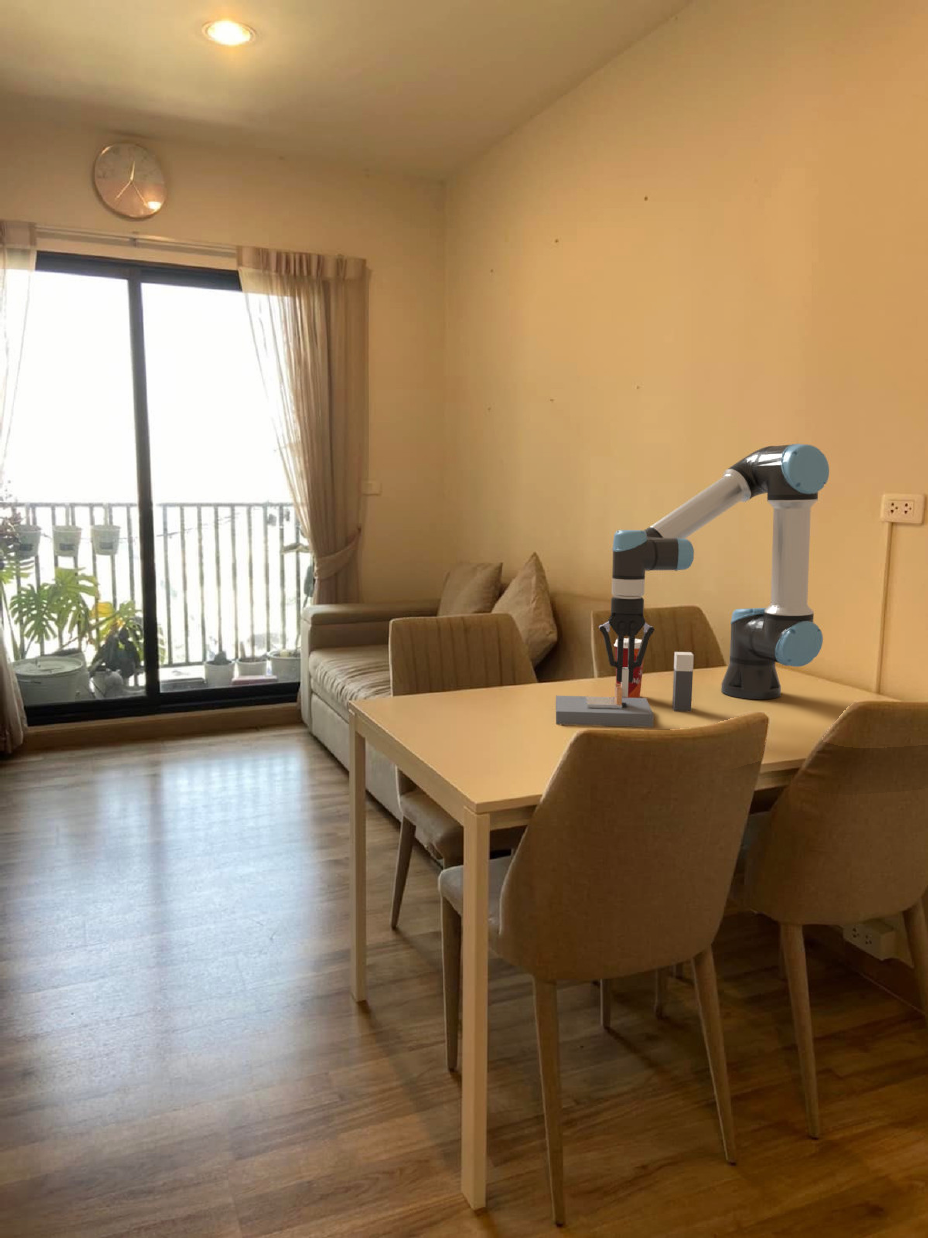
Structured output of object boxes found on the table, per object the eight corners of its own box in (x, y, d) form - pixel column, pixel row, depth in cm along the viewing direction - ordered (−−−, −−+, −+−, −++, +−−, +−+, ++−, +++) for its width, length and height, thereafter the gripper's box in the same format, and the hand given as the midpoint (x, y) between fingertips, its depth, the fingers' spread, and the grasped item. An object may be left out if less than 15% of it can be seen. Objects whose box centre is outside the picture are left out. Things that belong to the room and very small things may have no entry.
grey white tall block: (688, 707, 222) (691, 652, 220) (691, 711, 218) (693, 655, 216) (672, 707, 222) (674, 651, 220) (674, 710, 218) (676, 654, 216)
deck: (645, 710, 219) (645, 698, 219) (653, 727, 203) (653, 714, 203) (555, 707, 221) (555, 695, 221) (556, 723, 205) (556, 711, 205)
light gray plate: (619, 700, 215) (619, 682, 215) (622, 708, 207) (622, 690, 207) (586, 699, 216) (586, 681, 215) (587, 707, 208) (587, 689, 208)
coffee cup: (644, 701, 228) (646, 643, 226) (611, 699, 230) (613, 642, 228) (644, 694, 236) (646, 638, 234) (612, 692, 238) (614, 637, 236)
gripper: (654, 595, 211) (650, 692, 214) (598, 594, 212) (595, 691, 215) (658, 599, 203) (653, 699, 207) (600, 597, 204) (597, 698, 208)
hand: (624, 695), depth 211 cm, fingers closed
